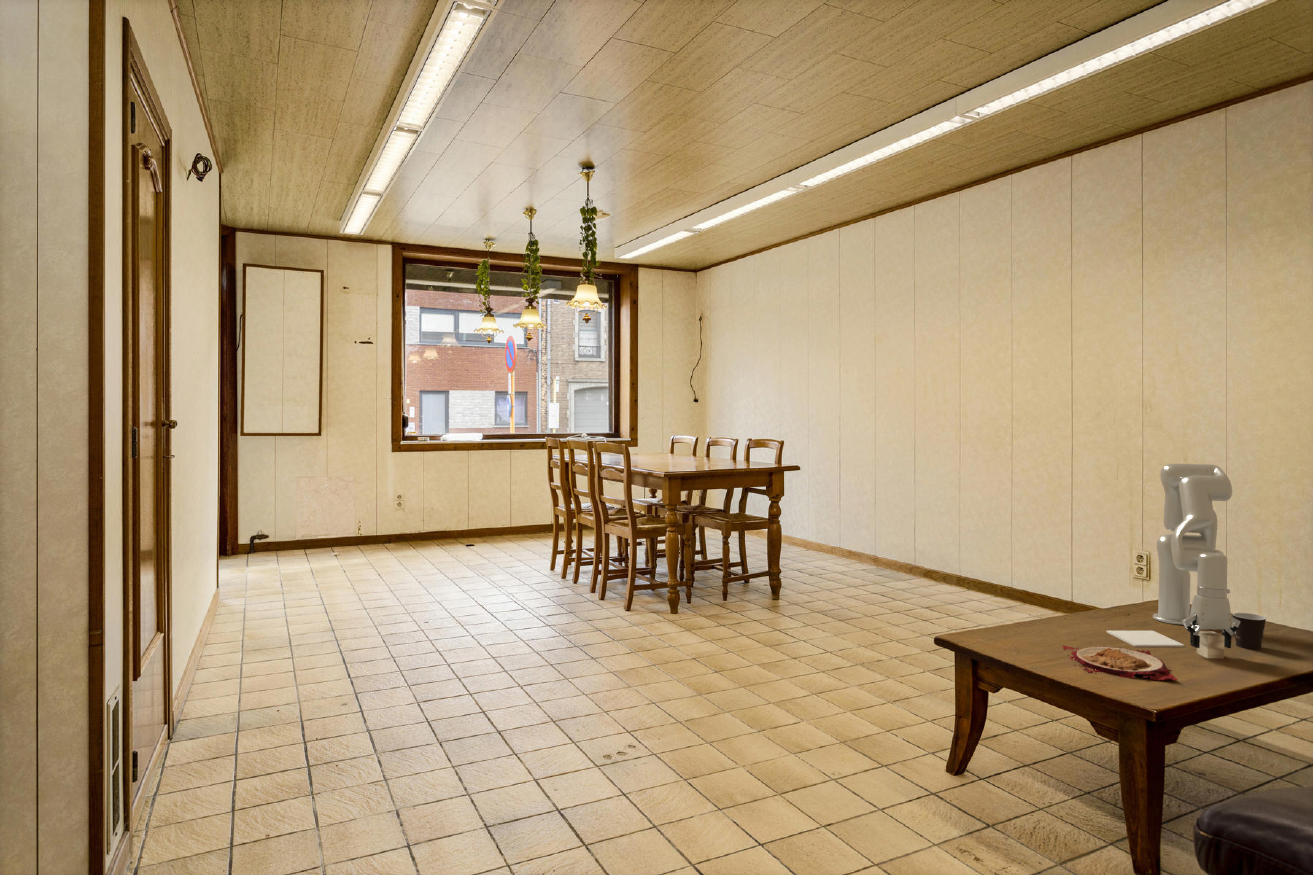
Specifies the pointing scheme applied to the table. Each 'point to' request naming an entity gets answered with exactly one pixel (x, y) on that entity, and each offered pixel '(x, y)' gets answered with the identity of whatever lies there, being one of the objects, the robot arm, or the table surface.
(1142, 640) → the white mat
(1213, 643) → the birch block
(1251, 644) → the coffee mug
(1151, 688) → the table surface
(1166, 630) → the table surface
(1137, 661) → the plate with food
